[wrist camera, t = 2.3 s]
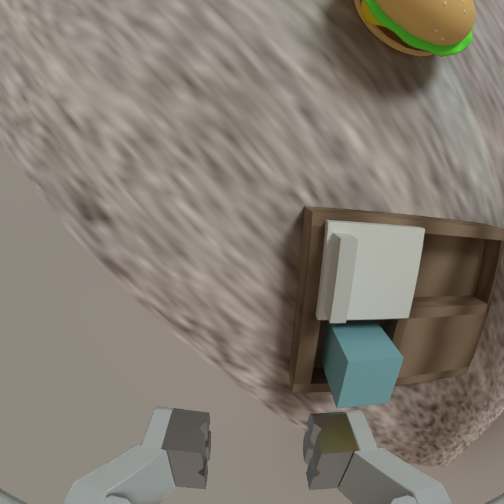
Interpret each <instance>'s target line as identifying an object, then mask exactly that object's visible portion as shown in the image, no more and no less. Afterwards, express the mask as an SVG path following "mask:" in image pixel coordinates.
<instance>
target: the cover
mask: <svg viewBox="0 0 504 504" xmlns="http://www.w3.org/2000/svg"><path fill="white" fill-rule="evenodd" d="M424 233H425V229H424V228H422V227H415V226H404V225H392V224H379V223H365V222H351V221H336V220H326V225H325V236H324V247H323V257H322V266H321V275H320V284H319V293H318V301H317V309H316V318H317V320H328V321H329V323H346V320H367V319H398V318H409V314H410V309H411V305H412V301H413V296H414V291H415V286H416V281H417V276H418V271H419V265H420V260H421V253H422V247H423V240H424Z"/></svg>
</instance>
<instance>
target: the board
mask: <svg viewBox="0 0 504 504" xmlns="http://www.w3.org/2000/svg"><path fill="white" fill-rule="evenodd" d="M326 220H336V221H351V222H365V223H379V224H392V225H404V226H415V227H422V228H424V229H425V233H424V240H423V247H422V253H421V260H420V265H419V271H418V276H417V281H416V286H415V291H414V296H413V301H412V305H411V309H410V314H409V318H398V319H367V320H376V321H377V323H378V324H379V325H380V327H381V328H382V329H383V331H384V332H385V333H386V334H387V336H388V337H389V338H390V340H391V341H392V342H393V344H394V345H395V346H396V348H397V349H398V350H399V352H400V353H401V354H402V356H403V357H404V359H403V362H402V365H401V368H400V371H399V374H398V377H397V380H396V383H395V386H397V385H405V384H412V383H419V382H425V381H431V380H437V379H443V378H448V377H453V376H458V375H463V374H466V373H467V371H468V369H469V366H470V364H471V361H472V358H473V356H474V353H475V350H476V348H477V345H478V342H479V339H480V336H481V333H482V330H483V327H484V324H485V321H486V318H487V314H488V311H489V307H490V304H491V300H492V296H493V293H494V289H495V285H496V281H497V276H498V272H499V267H500V262H501V257H502V252H503V246H504V230H503V229H500V228H497V227H494V226H490V225H487V224H482V223H475V222H467V221H459V220H451V219H443V218H434V217H425V216H416V215H406V214H396V213H385V212H374V211H362V210H349V209H336V208H322V207H306V206H304V221H303V235H302V247H301V259H300V271H299V282H298V292H297V302H296V312H295V321H294V330H293V339H292V347H291V356H290V364H289V376H290V381H291V387H292V393H300V392H328V391H331V389H330V387H329V384H328V381H327V378H326V375H325V372H324V369H323V366H322V363H321V360H320V359H321V353H322V348H323V342H324V336H325V329H326V323H327V321H328V320H317V318H316V309H317V301H318V293H319V284H320V275H321V266H322V257H323V247H324V236H325V225H326Z"/></svg>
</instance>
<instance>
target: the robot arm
mask: <svg viewBox="0 0 504 504" xmlns="http://www.w3.org/2000/svg"><path fill="white" fill-rule="evenodd" d="M209 424H210V417H209V413H208V412H200V411H191V410H184V409H176V408H174V409H173V408H167V407H160V406H157V407H156V408H155V409H154V411H153V413H152V416H151V419H150V422H149V424H148V427H147V430H146V433H145V435H144V438H143V441H142V444H141V446H139V445H135V446H133V447H131V448H130V449H129V450H127V451H125V452H124V453H122V454H120V455H119V456H117V457H116V458H114V459H112V460H111V461H109V462H108V463H106V464H104V465H103V466H101V467H99V468H98V469H96V470H94V471H93V472H91V473H89V474H87V475H86V476H84V477H82V478H80V479H79V480H77V481H75V482H74V483H73V485H72V487H71V489H70V492H69V494H68V496H67V498H66V500H65V502H64V504H159V503H160V502H161V501H162V500H163V499H164V498H165V497H166V496H167V495H168V494H169V493H171V492H172V491H173V490H174V489H175V488H176V487H175V486H179V487H189V488H200V489H206V482H207V474H208V467H207V462H208V461H209V459H210V448H211V432H210V430H209ZM307 424H308V429H309V430H308V431H307V432H306V433H305V436H304V442H303V455H304V461H305V462H306V463H307V464H308V469H307V472H306V474H307V480H308V486H309V490H315V489H327V488H338V489H339V490H340V491H341V492H342V493H343V494H344V495H345V496H346V497H347V498H348V499H349V500H350V501H351V502H352V503H353V504H452V503H451V501H450V499H449V497H448V495H447V493H446V491H445V489H444V487H443V485H442V484H441V483H439V482H438V481H436V480H434V479H433V478H431V477H429V476H428V475H426V474H424V473H422V472H421V471H419V470H418V469H416V468H414V467H413V466H411V465H409V464H408V463H406V462H405V461H403V460H401V459H400V458H398V457H397V456H395V455H394V454H392V453H390V452H389V451H387V450H386V449H384V448H378V447H377V444H376V442H375V440H374V437H373V435H372V432H371V430H370V428H369V425H368V423H367V421H366V418H365V416H364V414H363V412H362V411H361V410H355V411H345V412H334V413H320V414H310V416H309V418H308V422H307ZM0 504H27V503H25V502H23V501H21V500H20V499H18V498H16V497H14V496H12V495H10V494H9V493H7V492H5V491H4V490H2V489H0ZM485 504H504V493H503V494H502V495H500V496H498V497H496V498H494V499H493V500H491V501H489V502H487V503H485Z"/></svg>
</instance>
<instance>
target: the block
mask: <svg viewBox="0 0 504 504" xmlns="http://www.w3.org/2000/svg"><path fill="white" fill-rule="evenodd" d="M403 359H404V357H403V356H402V354H401V353H400V352H399V350H398V349H397V348H396V346H395V345H394V344H393V342H392V341H391V340H390V338H389V337H388V336H387V334H386V333H385V332H384V331H383V329H382V328H381V327H380V325H379V324H378V323H377V321H376V320H346V323H329V321H327V323H326V329H325V336H324V342H323V348H322V353H321V359H320V360H321V363H322V366H323V369H324V372H325V375H326V378H327V381H328V384H329V387H330V389H331V392H332V395H333V398H334V401H335V405H336V408H344V407H356V406H366V405H375V404H383V403H389V400H390V397H391V395H392V392H393V389H394V386H395V383H396V380H397V377H398V374H399V371H400V368H401V365H402V362H403Z"/></svg>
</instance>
